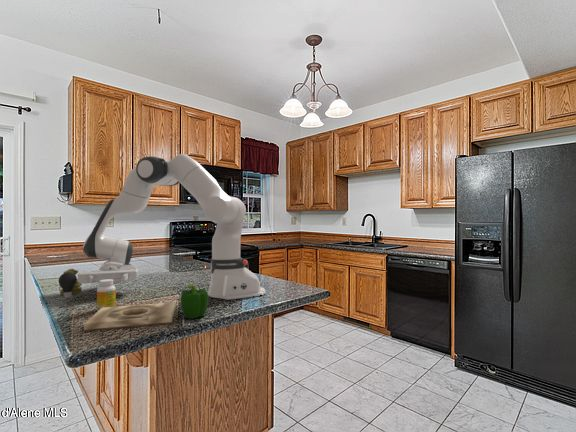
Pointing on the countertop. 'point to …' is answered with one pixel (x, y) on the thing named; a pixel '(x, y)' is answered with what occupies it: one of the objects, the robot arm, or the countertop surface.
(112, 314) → the socket board
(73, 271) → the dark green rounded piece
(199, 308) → the bell pepper
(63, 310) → the countertop surface
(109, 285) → the supplement bottle
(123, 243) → the robot arm
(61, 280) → the light bulb
